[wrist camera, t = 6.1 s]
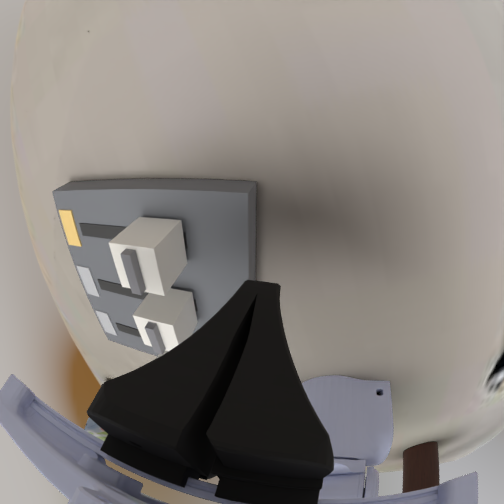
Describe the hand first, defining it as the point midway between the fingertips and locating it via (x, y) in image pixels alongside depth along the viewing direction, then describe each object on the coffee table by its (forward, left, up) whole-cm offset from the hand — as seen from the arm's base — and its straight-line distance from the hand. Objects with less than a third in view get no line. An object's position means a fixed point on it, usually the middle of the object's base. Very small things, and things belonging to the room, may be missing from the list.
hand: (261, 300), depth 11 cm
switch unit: (+9, +5, -6) cm, 12 cm away
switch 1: (+6, 0, -4) cm, 8 cm away
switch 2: (+6, +5, -4) cm, 9 cm away
